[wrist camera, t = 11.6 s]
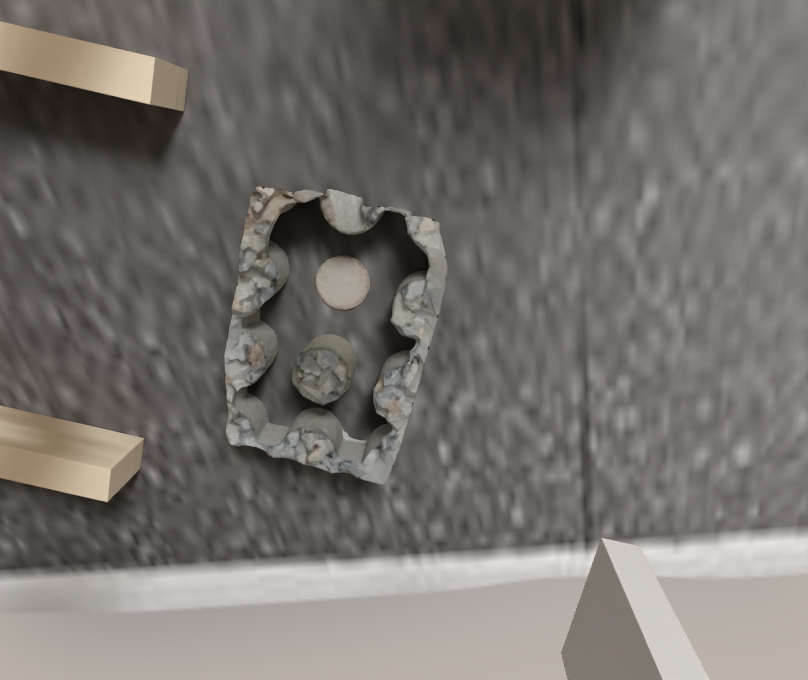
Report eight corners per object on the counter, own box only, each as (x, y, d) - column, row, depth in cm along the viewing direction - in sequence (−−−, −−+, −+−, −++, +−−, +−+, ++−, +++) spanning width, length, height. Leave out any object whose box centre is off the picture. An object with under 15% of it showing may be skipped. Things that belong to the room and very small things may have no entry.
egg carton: (277, 170, 25) (247, 170, 21) (460, 220, 26) (464, 229, 22) (228, 413, 28) (194, 453, 24) (394, 457, 28) (386, 504, 24)
